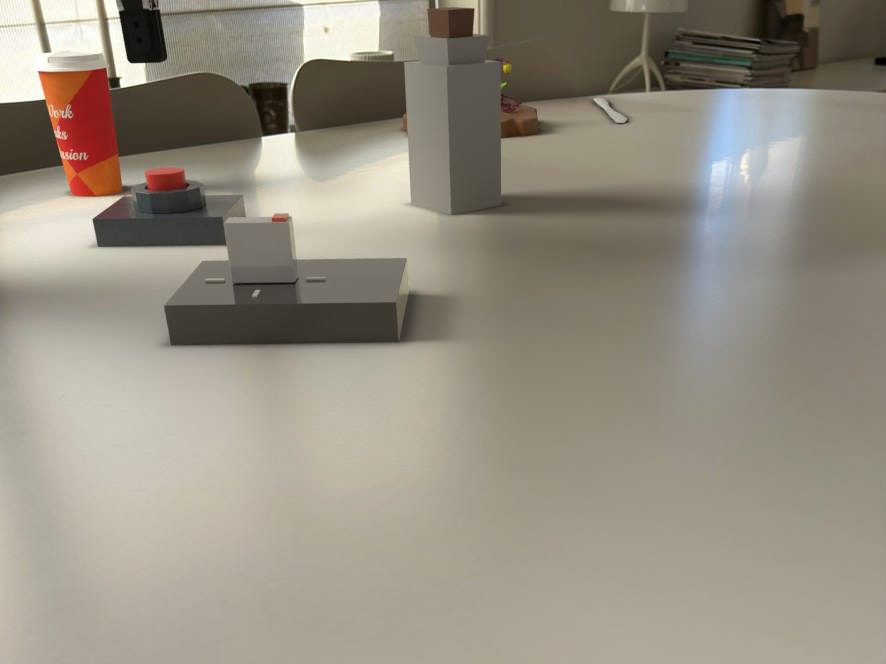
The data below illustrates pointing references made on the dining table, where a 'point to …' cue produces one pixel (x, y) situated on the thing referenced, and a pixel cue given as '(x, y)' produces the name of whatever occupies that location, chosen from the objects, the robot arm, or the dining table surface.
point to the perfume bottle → (453, 116)
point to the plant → (510, 113)
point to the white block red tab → (261, 249)
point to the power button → (165, 179)
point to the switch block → (167, 217)
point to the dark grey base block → (292, 305)
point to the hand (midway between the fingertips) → (148, 61)
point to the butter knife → (610, 110)
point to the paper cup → (82, 119)
